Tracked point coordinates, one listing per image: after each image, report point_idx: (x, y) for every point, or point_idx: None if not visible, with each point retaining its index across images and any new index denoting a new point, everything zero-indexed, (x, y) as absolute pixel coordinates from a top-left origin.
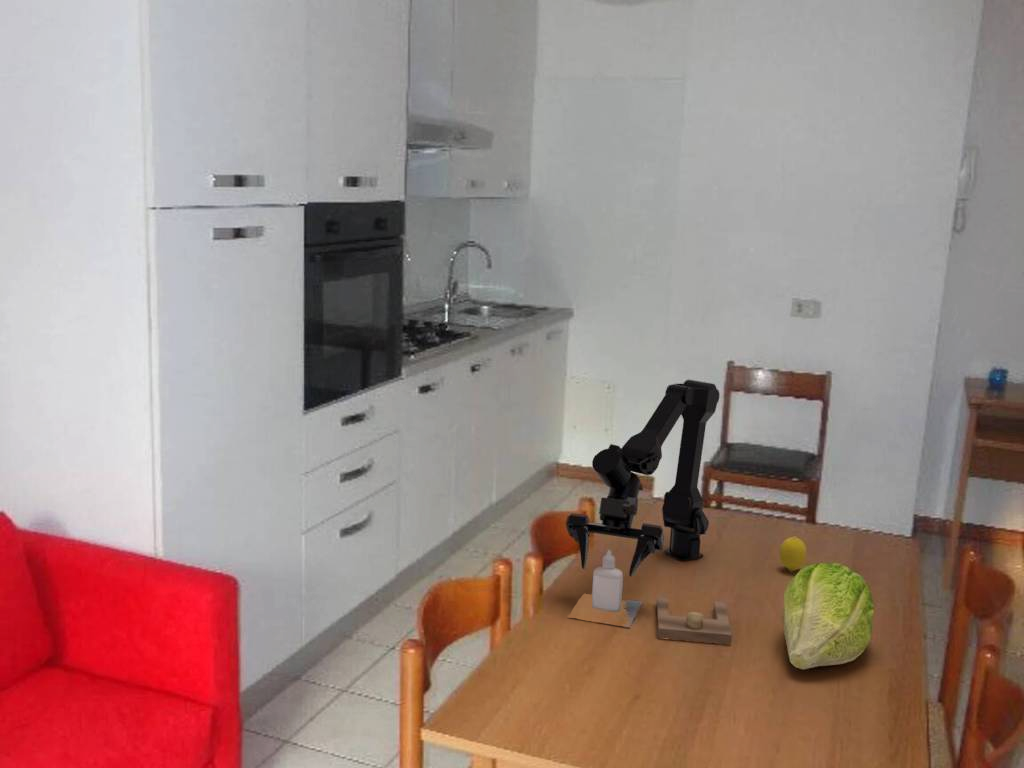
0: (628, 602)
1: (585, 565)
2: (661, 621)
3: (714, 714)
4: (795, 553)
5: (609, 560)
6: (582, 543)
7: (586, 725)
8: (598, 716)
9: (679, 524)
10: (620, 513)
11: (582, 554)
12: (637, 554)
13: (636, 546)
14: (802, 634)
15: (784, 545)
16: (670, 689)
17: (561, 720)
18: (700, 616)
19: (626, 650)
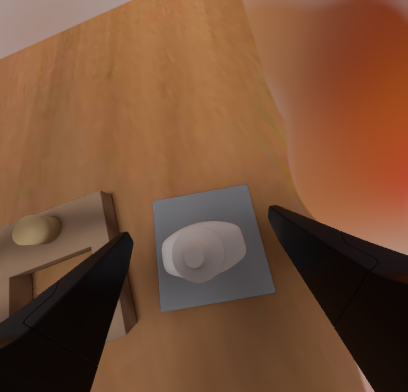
0: (183, 295)
1: (273, 229)
2: (99, 216)
3: (41, 85)
4: None
5: (187, 228)
6: (365, 250)
7: (137, 27)
8: (132, 39)
9: None
10: None
11: (306, 220)
12: (52, 293)
13: (14, 341)
14: None
15: None
16: (81, 99)
17: (156, 23)
18: (17, 230)
19: (141, 145)
